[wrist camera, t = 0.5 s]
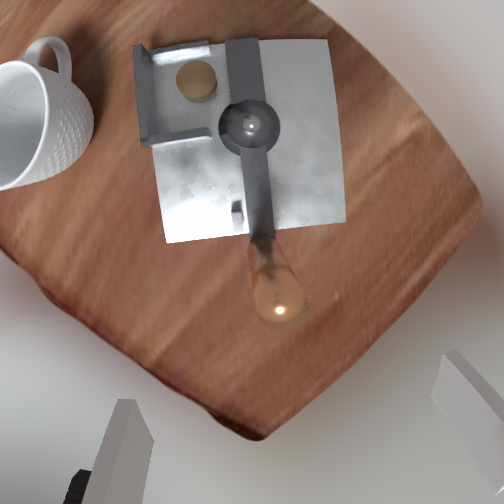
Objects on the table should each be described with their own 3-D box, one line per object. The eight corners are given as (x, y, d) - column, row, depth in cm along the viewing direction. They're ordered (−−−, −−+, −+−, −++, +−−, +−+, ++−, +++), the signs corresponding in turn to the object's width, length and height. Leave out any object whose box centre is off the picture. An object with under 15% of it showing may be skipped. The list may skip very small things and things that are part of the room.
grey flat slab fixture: (148, 61, 28) (132, 45, 22) (322, 45, 29) (338, 26, 23) (170, 238, 34) (158, 255, 29) (339, 218, 35) (359, 230, 29)
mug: (44, 58, 26) (-20, 33, 14) (122, 49, 27) (72, 6, 15) (30, 175, 31) (-42, 191, 18) (105, 177, 32) (43, 193, 19)
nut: (179, 72, 27) (174, 63, 24) (215, 66, 27) (213, 57, 24) (183, 105, 28) (177, 99, 25) (219, 99, 28) (217, 93, 25)
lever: (217, 50, 26) (209, -16, 13) (262, 46, 26) (284, -20, 13) (242, 264, 33) (250, 336, 20) (285, 259, 33) (318, 326, 20)
